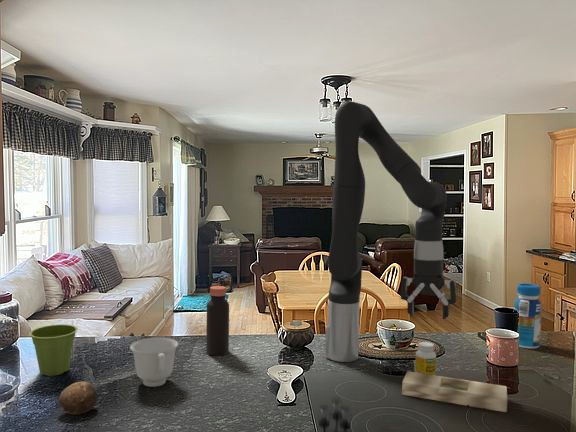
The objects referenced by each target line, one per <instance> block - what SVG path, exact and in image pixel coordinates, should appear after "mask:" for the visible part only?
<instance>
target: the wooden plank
mask: <svg viewBox="0 0 576 432" xmlns="http://www.w3.org/2000/svg"><path fill="white" fill-rule="evenodd" d="M401 384H402V385H401V387H402V388H401V395H403V396H408V397H409V396H410V397H416V398H421V399H426V400H433V401H438V402H443V403H450V404H456V405H460V406H461V405H462V406H467V405H469V406H468V407H472V408H477V409H478V408H479V409H484V408H485V410H491V411H497V412H502V413H507V411H508V390H507V389H508V388H507V387H508V386H506V385H502V384H493V383H486V382H482V381H481V382H480V381H474V380H467V379H461V378H454V377H449V376H442V375H436V374H435V375H430V374H423V373H416V372H415V371H410V370H407V371H406V373H405V376H404V378H403V379H402V383H401Z"/></svg>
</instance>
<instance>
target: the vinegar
mask: <svg viewBox="0 0 576 432" xmlns="http://www.w3.org/2000/svg"><path fill="white" fill-rule="evenodd" d="M209 297H210V300H208V302H206V336H205V337H206V339H205V341H206V342H205V343H206V346H205V348H206V351H205V352H206V354H207V355H210V356H217V357H218V356H224V355H226V354H228V353H229V351H230V350H229V349H230V347H229V346H230V341H229V340H230V303H229V302H228V300H227V299H226V297H227V287H226V286H224V285H223V286H222V285H215V286H213V285H212V286H210V288H209Z"/></svg>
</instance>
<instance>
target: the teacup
mask: <svg viewBox="0 0 576 432" xmlns="http://www.w3.org/2000/svg"><path fill="white" fill-rule="evenodd" d="M178 346H179V342H178V341H177V340H175V339H173V338H169V337H150V338H149V337H148V338H143V339H138V340H136V341H134V342H133V343H132V344H131V345H130V346H129V349H130V350H131V351H132V354H133V360H134V368H135V372H136V375H137V377H138V378H140V379H141V380H142V381H143V382H142V384H143V385H144V386H145V387H150V388H152V387H153V388H154V387H155V388H156V387H160V386H163V385H164V384H165V383H166V381H167V378H168V377H169V376H170V375H171V374H172V371H173V369H174V364H175V354H176V350H177V347H178Z"/></svg>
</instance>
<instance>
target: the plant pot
mask: <svg viewBox="0 0 576 432" xmlns="http://www.w3.org/2000/svg"><path fill="white" fill-rule="evenodd" d="M77 332H78V327H77V326H76V325H73V324H51V325H44V326H40V327H36V328H34V329H32V330H31V331H30V332H28V335H29V336H30V337H31V341H32V343H33V346H34V349H35V355H36V359H37V365H38V370H39V373H40V375H45V376H47V377H48V376H49V377H52V376H59V375H62V374H64V373H65V372H69V370H70V365H71V360H72V352H73V345H74V340H75V339H76V333H77Z"/></svg>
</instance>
